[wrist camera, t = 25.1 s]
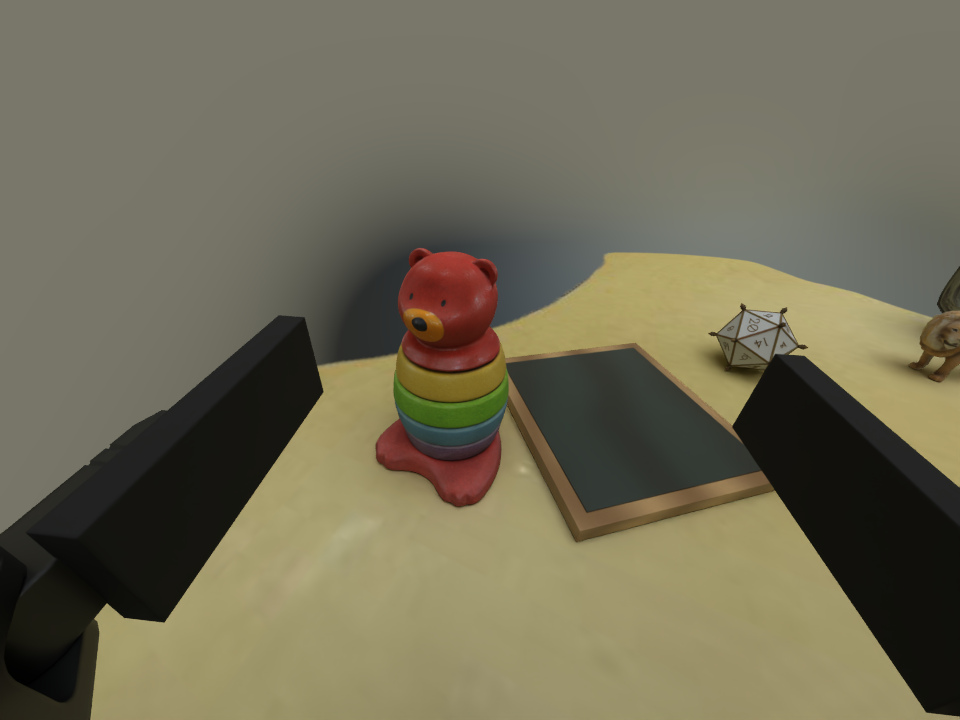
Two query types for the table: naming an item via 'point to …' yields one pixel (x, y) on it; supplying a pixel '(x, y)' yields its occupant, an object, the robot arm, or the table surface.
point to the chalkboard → (625, 439)
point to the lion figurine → (941, 343)
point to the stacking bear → (448, 377)
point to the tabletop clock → (951, 294)
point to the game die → (756, 338)
